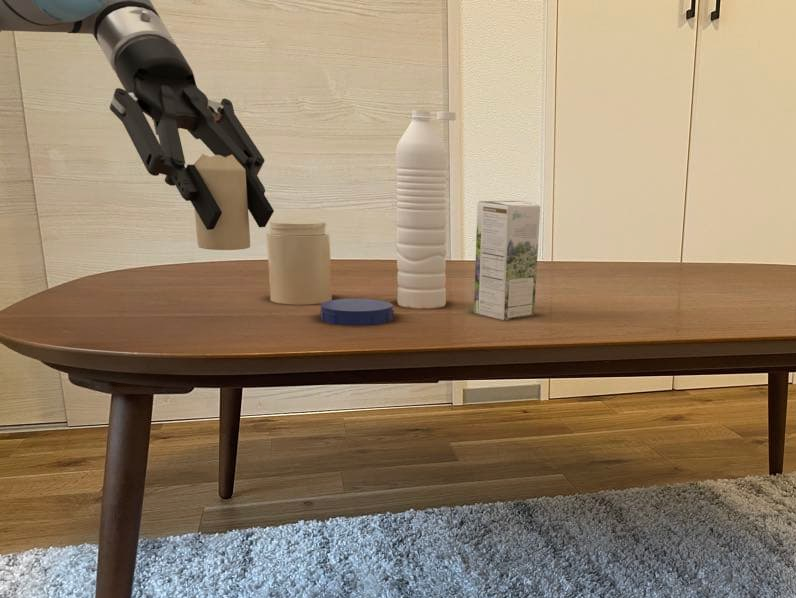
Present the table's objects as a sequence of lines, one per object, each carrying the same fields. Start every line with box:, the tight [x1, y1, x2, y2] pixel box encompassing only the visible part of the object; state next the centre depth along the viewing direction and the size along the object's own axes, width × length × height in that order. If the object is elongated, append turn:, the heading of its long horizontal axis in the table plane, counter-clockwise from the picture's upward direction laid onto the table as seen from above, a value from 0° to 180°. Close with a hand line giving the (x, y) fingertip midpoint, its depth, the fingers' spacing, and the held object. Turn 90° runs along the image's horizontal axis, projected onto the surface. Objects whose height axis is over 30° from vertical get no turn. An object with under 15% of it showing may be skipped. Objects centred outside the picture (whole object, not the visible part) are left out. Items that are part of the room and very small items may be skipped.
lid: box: [320, 298, 394, 327], centre depth 94 cm, size 8×8×2 cm
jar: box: [265, 218, 333, 305], centre depth 104 cm, size 8×8×10 cm
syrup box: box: [473, 200, 541, 321], centre depth 99 cm, size 6×6×14 cm
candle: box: [192, 153, 251, 251], centre depth 86 cm, size 6×6×10 cm
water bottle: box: [395, 109, 457, 310], centre depth 103 cm, size 9×6×25 cm
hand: (241, 219), depth 84 cm, fingers closed on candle, 5 cm apart
